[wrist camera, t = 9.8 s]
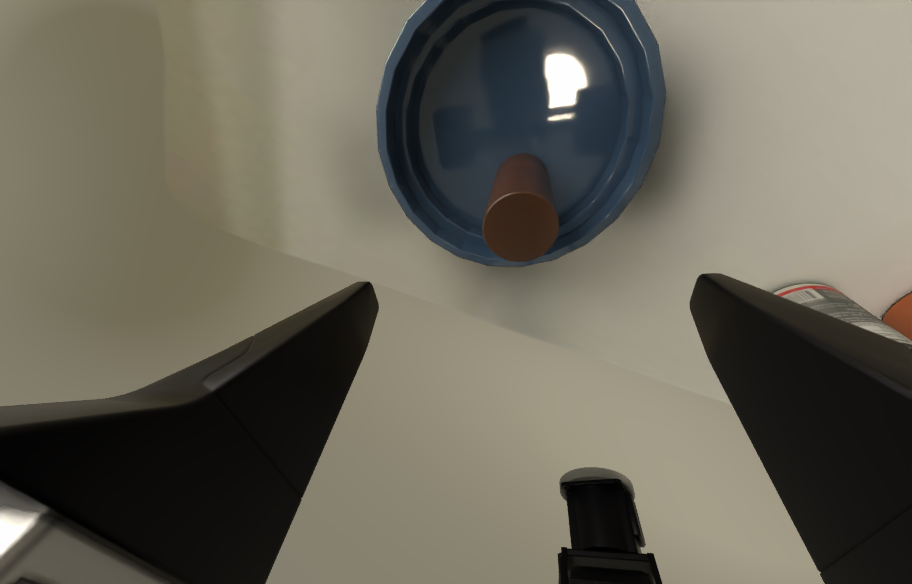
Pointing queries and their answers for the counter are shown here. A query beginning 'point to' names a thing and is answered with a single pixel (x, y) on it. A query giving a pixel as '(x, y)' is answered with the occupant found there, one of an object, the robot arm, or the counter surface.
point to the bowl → (519, 113)
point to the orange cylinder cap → (901, 316)
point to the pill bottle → (839, 308)
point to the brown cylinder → (521, 210)
